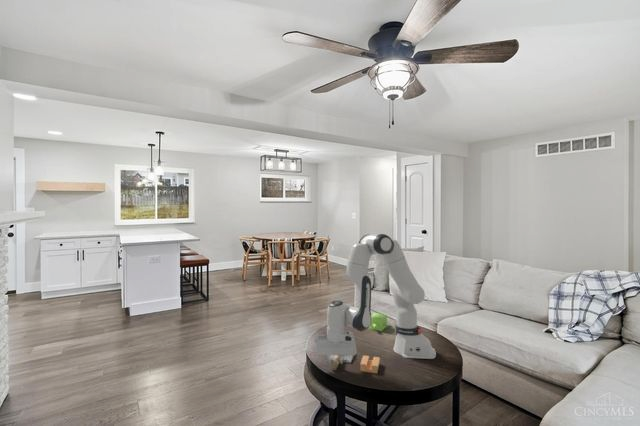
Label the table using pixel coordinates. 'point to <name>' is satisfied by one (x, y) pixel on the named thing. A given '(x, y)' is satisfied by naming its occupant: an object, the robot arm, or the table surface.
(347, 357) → the block
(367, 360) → the orange grooved block
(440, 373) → the table surface
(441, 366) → the table surface
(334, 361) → the axle
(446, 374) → the table surface
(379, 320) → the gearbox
